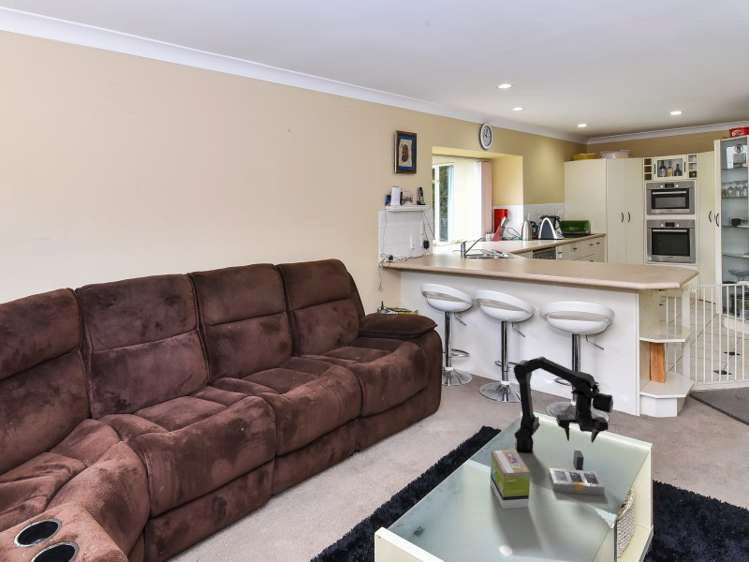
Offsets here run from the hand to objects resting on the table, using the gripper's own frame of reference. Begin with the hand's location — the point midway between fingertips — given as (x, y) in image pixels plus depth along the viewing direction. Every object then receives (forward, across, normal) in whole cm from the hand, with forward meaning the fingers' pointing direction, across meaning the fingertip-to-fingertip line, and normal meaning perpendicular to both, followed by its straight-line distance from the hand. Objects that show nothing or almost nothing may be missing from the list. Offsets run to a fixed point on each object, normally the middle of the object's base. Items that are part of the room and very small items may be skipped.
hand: (579, 441), depth 203 cm
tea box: (+12, -30, -23) cm, 40 cm away
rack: (+11, -4, -13) cm, 18 cm away
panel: (+12, 0, 0) cm, 12 cm away
